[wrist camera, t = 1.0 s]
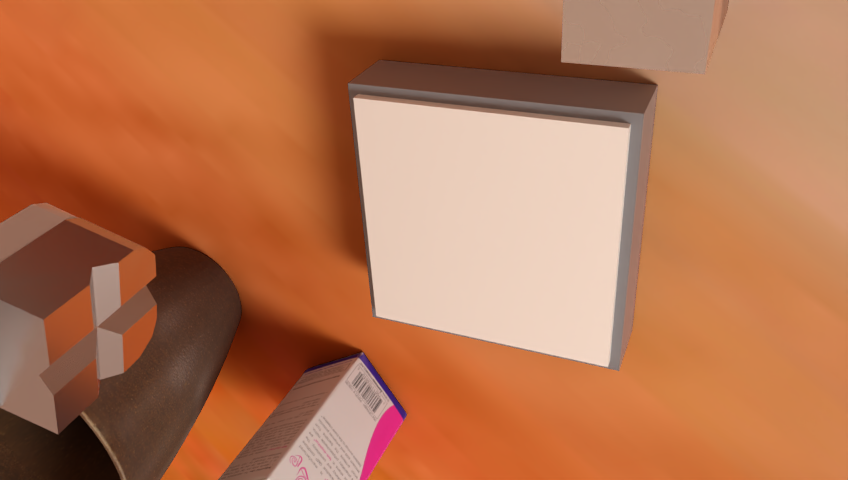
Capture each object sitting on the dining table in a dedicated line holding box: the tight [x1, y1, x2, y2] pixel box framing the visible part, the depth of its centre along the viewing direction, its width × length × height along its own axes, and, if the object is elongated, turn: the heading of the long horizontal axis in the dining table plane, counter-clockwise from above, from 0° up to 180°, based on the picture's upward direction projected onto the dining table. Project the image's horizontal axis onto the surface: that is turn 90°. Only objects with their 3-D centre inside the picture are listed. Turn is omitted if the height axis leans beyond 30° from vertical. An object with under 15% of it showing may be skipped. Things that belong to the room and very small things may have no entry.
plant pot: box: [0, 247, 241, 480], centre depth 50 cm, size 15×15×16 cm
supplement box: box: [218, 352, 407, 480], centre depth 50 cm, size 6×6×12 cm
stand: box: [348, 60, 658, 371], centre depth 41 cm, size 14×14×4 cm
